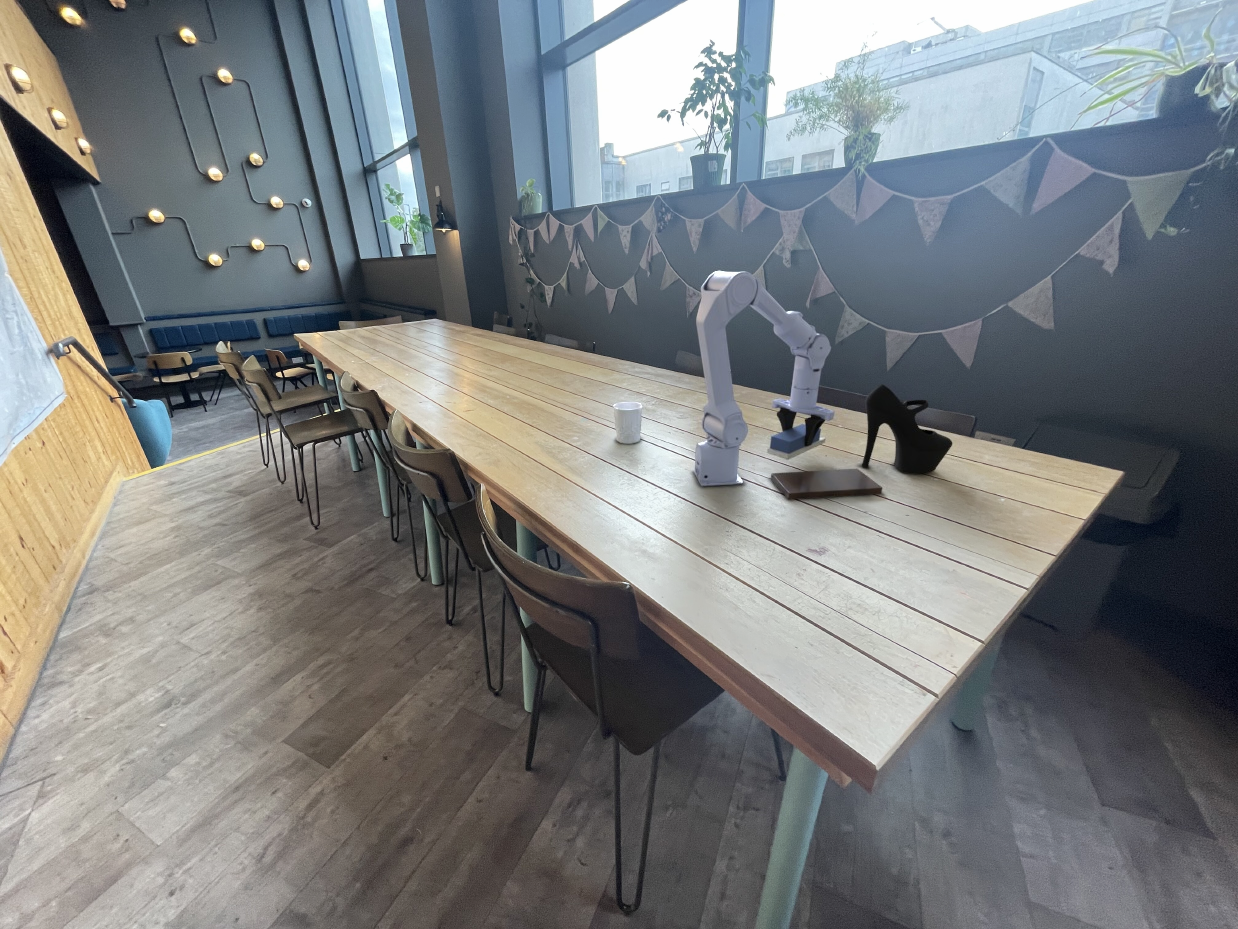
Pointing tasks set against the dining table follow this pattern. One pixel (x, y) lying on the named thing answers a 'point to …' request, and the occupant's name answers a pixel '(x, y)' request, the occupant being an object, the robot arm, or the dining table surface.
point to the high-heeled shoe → (904, 432)
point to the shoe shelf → (825, 483)
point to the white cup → (628, 421)
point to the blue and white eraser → (792, 442)
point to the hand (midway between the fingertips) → (797, 442)
